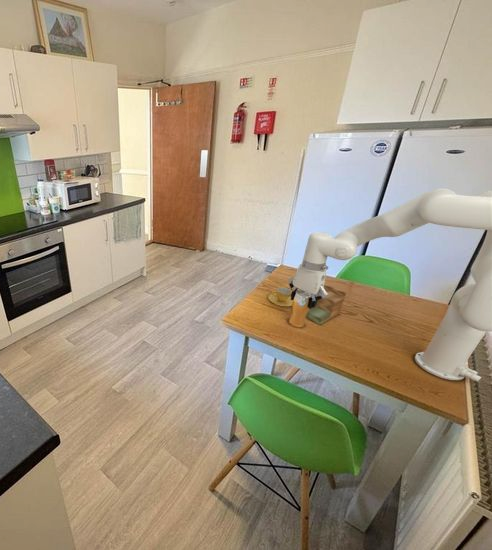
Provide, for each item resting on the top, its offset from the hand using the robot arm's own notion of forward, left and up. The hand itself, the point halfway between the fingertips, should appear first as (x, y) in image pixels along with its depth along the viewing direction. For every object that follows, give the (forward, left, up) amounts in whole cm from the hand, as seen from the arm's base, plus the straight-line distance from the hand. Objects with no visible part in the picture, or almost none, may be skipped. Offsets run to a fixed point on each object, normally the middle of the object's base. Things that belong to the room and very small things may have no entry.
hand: (302, 303), depth 122 cm
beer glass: (0, 0, -10) cm, 10 cm away
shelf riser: (0, -15, -10) cm, 18 cm away
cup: (+15, -11, -10) cm, 21 cm away
